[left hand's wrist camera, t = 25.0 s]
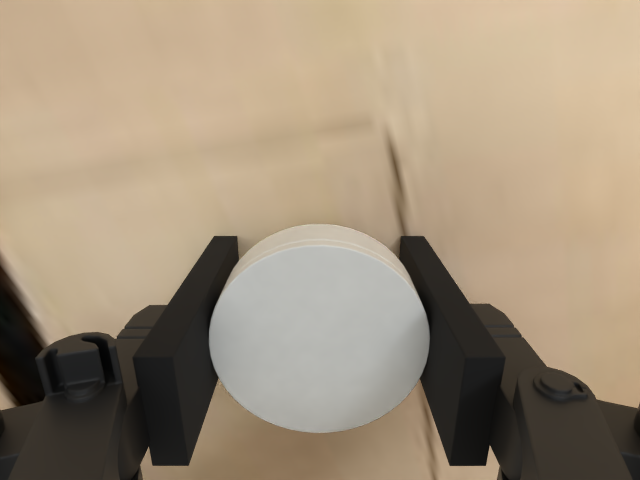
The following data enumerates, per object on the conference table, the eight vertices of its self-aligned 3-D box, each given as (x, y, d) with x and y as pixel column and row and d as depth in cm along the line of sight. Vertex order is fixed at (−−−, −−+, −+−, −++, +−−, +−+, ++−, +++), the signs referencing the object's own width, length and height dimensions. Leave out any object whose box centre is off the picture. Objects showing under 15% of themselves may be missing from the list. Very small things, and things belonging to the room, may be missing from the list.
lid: (453, 271, 11) (472, 300, 10) (362, 415, 13) (368, 458, 12) (266, 188, 11) (257, 206, 9) (196, 354, 12) (178, 391, 11)
